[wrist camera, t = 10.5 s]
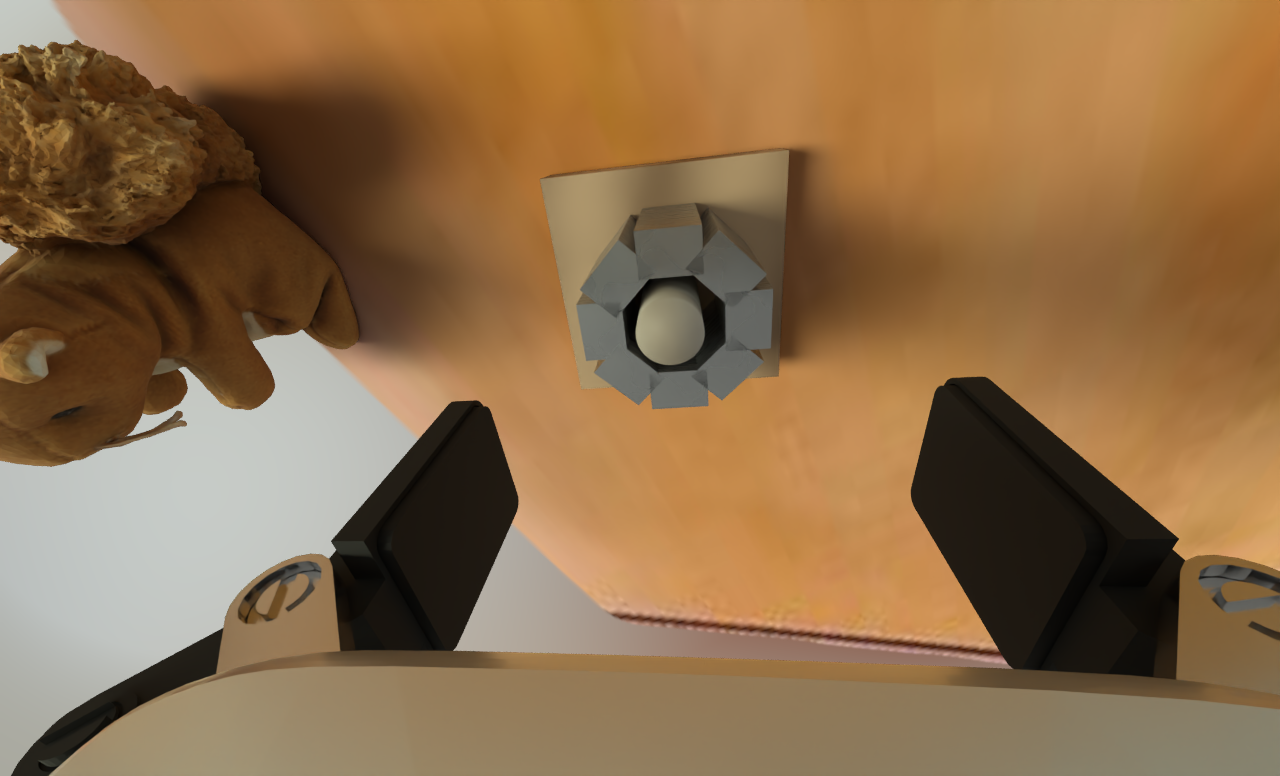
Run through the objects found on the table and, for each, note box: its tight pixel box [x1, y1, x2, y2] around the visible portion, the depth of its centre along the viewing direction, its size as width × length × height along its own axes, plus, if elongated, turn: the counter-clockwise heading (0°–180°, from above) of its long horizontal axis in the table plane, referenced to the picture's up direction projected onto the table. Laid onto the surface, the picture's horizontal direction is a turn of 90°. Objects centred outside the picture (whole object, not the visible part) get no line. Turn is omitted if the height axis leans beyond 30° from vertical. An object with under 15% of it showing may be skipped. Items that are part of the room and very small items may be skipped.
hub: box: [576, 203, 773, 409], centre depth 18 cm, size 7×7×5 cm
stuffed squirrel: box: [0, 40, 359, 467], centre depth 17 cm, size 10×14×13 cm
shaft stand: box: [540, 148, 789, 389], centre depth 19 cm, size 10×10×8 cm
